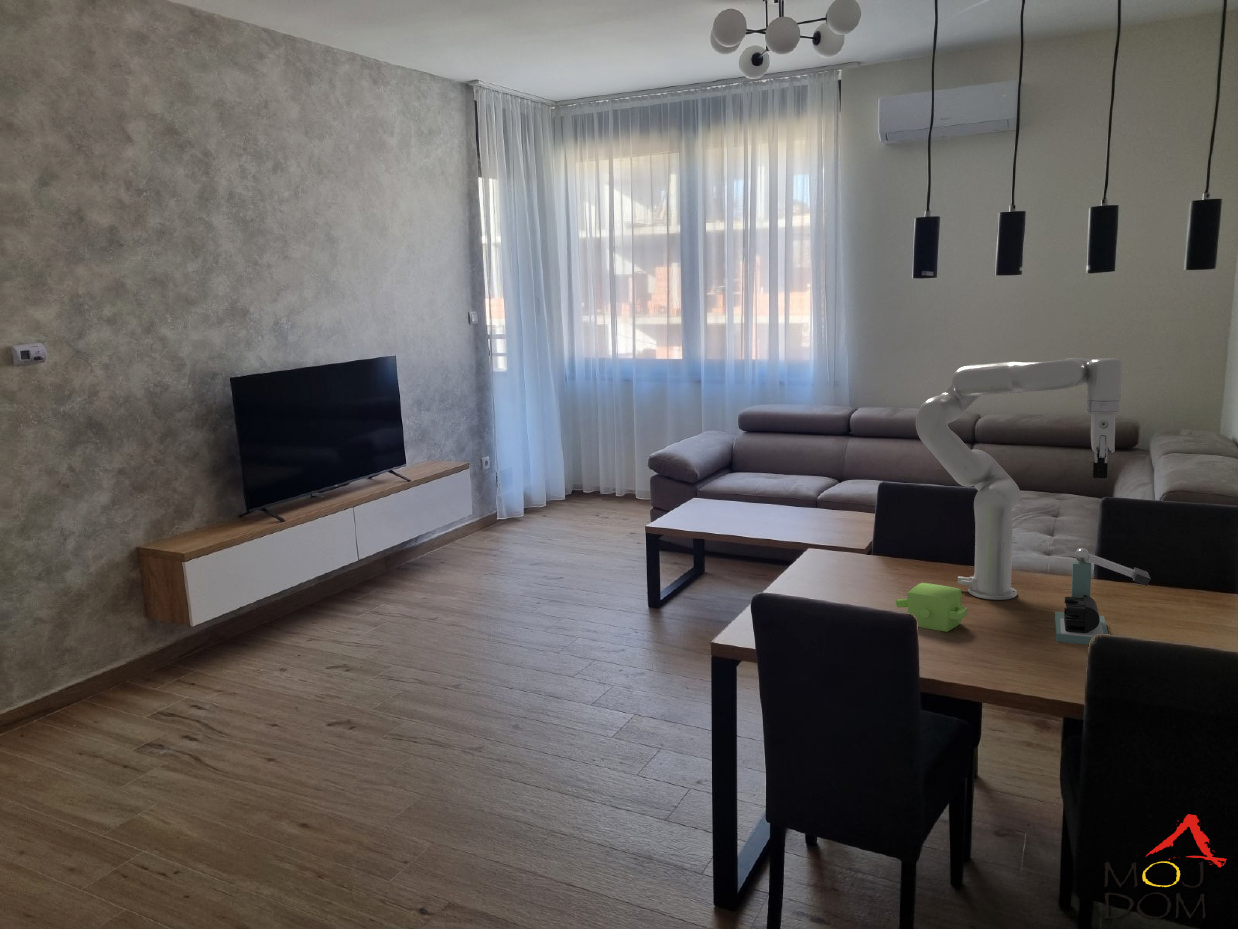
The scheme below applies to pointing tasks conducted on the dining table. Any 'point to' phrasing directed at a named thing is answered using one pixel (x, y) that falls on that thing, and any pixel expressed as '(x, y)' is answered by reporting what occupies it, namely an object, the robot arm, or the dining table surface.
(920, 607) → the gearbox
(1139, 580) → the press lever
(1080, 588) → the press frame
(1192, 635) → the dining table surface
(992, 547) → the robot arm
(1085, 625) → the end cap
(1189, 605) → the dining table surface
